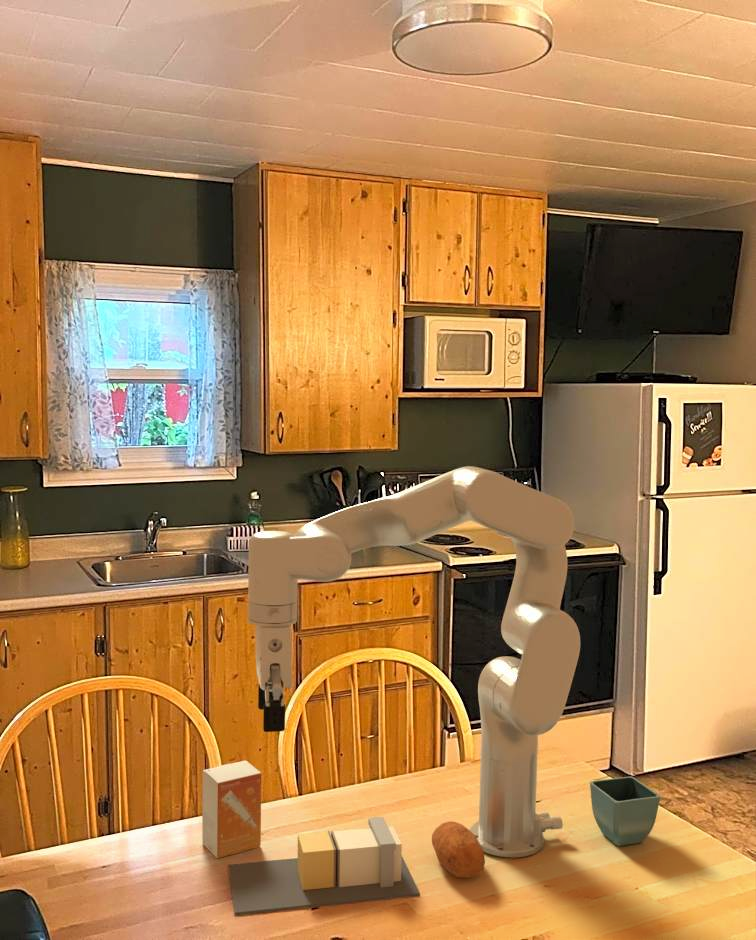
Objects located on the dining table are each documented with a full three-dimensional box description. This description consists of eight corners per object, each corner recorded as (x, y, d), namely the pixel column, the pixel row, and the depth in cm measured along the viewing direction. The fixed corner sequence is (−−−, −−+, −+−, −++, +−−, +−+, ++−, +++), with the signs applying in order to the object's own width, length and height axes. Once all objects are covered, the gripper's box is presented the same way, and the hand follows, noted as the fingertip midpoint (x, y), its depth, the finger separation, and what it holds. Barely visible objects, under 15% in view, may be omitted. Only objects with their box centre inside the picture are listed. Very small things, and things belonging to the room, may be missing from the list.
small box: (217, 860, 156) (217, 783, 155) (201, 843, 162) (201, 769, 160) (262, 847, 161) (262, 772, 160) (245, 831, 166) (245, 758, 165)
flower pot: (630, 823, 171) (632, 775, 170) (659, 846, 163) (661, 796, 162) (586, 830, 169) (588, 780, 168) (614, 854, 160) (616, 802, 159)
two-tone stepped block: (389, 857, 157) (390, 816, 157) (403, 886, 149) (404, 842, 148) (329, 863, 155) (329, 821, 154) (339, 892, 146) (339, 848, 146)
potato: (445, 890, 148) (446, 846, 148) (425, 850, 161) (426, 809, 160) (490, 886, 150) (491, 842, 149) (466, 846, 162) (467, 806, 161)
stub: (328, 867, 154) (329, 830, 153) (335, 887, 148) (336, 849, 147) (297, 870, 153) (297, 833, 152) (302, 890, 147) (303, 852, 146)
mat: (398, 850, 160) (398, 848, 160) (419, 895, 147) (420, 893, 147) (228, 867, 154) (228, 864, 154) (234, 915, 141) (234, 912, 141)
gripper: (303, 625, 141) (301, 739, 142) (290, 598, 158) (288, 699, 159) (252, 627, 139) (250, 741, 141) (244, 599, 156) (243, 701, 158)
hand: (271, 719), depth 150 cm, fingers open, 9 cm apart
